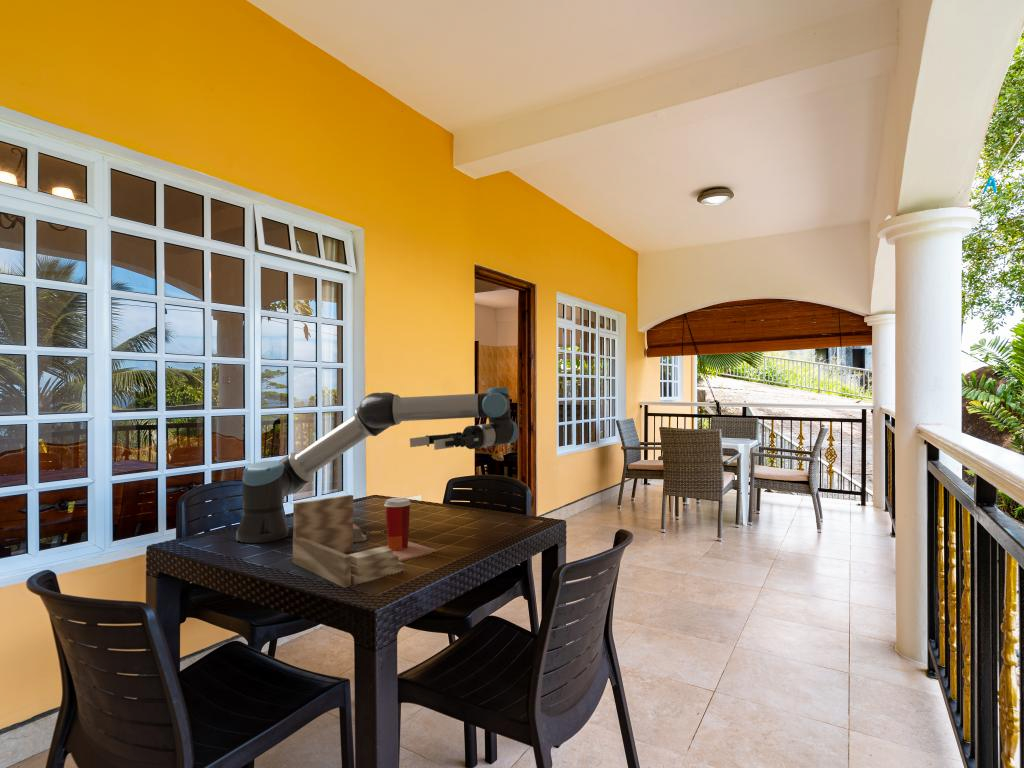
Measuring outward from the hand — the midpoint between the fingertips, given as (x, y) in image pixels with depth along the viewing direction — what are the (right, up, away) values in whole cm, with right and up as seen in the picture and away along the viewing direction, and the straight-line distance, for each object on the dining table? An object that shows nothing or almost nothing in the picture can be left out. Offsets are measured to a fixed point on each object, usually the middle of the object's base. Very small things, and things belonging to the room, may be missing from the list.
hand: (422, 443), depth 162 cm
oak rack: (-16, -30, -20) cm, 40 cm away
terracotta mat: (-5, -30, -7) cm, 32 cm away
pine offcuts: (-7, -30, -27) cm, 41 cm away
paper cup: (-6, -30, -5) cm, 31 cm away
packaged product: (-27, -32, +11) cm, 43 cm away
